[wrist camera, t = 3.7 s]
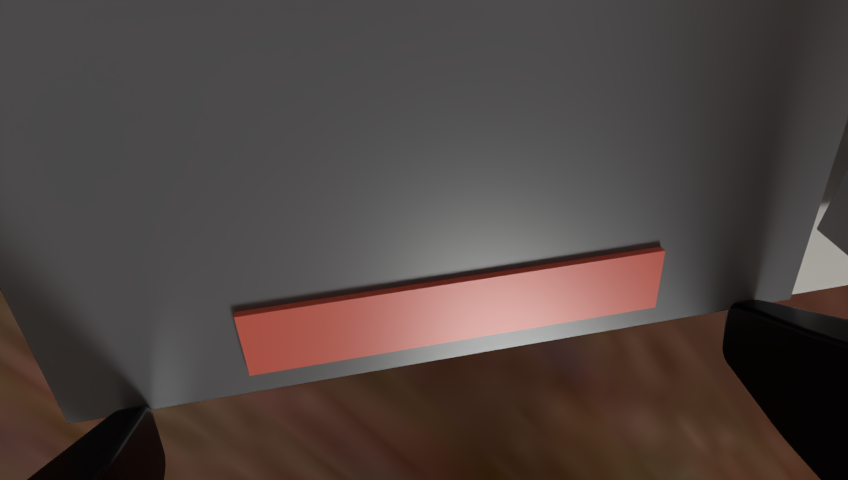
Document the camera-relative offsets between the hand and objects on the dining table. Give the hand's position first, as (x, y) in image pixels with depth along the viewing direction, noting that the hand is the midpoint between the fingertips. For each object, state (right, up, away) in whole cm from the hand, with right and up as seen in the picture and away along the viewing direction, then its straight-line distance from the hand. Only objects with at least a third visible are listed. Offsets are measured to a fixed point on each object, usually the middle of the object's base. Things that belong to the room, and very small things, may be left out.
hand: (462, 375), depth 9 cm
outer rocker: (0, +4, -1) cm, 4 cm away
